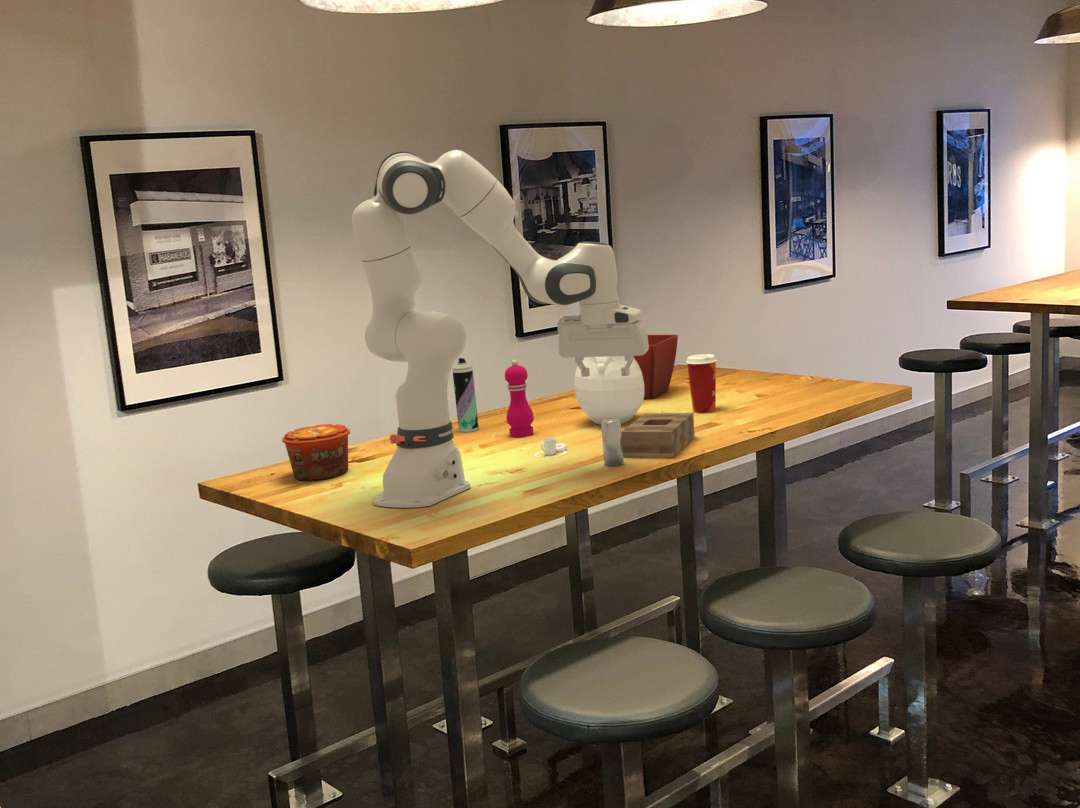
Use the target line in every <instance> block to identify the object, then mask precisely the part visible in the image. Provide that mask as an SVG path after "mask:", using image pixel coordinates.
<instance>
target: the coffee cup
mask: <svg viewBox="0 0 1080 808" xmlns="http://www.w3.org/2000/svg"><path fill="white" fill-rule="evenodd" d="M717 361H718V360H717V359H716V356H715V354H712V353H702V354H701V353H700V354H693V355H689V356H687V358H686V361H685V363H686V364H687V372H688V380H689V389H690V396H691V397H690V398H691V405H692V406H691V407H692V411H693V412H692V413H696V414H707V413H709V414H710V413H713V412H715V411H716V404H717V403H716V399H717V398H716V397H717V395H716V392H717V391H716V386H717V385H716V384H717V383H716V375H717V374H716V369H717V366H716V365H717V364H716V362H717Z"/></svg>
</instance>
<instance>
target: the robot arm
mask: <svg viewBox="0 0 1080 808" xmlns="http://www.w3.org/2000/svg"><path fill="white" fill-rule="evenodd" d="M373 195H374V196H373V197H372V198H369V199H366V200H365V201H363V202H361V203H360V204H359V205H357V206H356V207H355V208H354V210H353V211H352V213H351V225H352V231H353V237H354V242H355V246H356V250H357V253H358V256H359V259H360V261H361V262H360V263H361V265H362V267H363V270H364V273H365V276H366V280H367V282H368V283H367V284H368V287H369V289H370V292H371V301H372V313H371V318H370V320H369V321H368V322H367V325H366V327H365V331H364V332H365V334H364V338H365V339H364V340H365V344H366V347H367V348H368V350H369V352H370V353H371V354H373V355H374V356H376V357H378V358H380V359H383V360H385V361H386V360H387V361H388V362H390V361H391V362H397V363H398V362H400V363H401V362H402V363H403V362H404V363H407V374H406V377H405V380H404V382H403V383H401V385H399V387H398V388H397V389H396V392H395V402H396V410H397V419H398V420H397V421H398V427H397V432H396V434H394V433H391V434H390V435H389V442H390V444H392V445H394V444H396V449H395V452H394V453H393V455H392V457H391V459H390V461H389V463H388V464H387V467H386V468H385V470H384V472H383V476H382V486H383V487H382V488H383V489H382V490H383V491H382V492H381V493H380V494H379V495H377V496H375V497H374V499H373V500H372V501H373V505H374V506H378V507H385V508H399V509H400V508H401V509H403V508H406V509H407V508H410V509H411V508H422V507H429V506H432V505H435V504H437V503H440V502H441V501H443V500H446V499H448V498H451V497H452V496H455V495H457V494H459V493H461V492H463V491H467V490H468V489H470V488H471V487H472V486H471V482H470V481H468V480H466V478H465V477H466V476H465V472H464V466H463V462H462V457H461V452H460V450H459V448H458V447H457V446H456V444H455V443H454V440H453V439H454V427H453V422H452V421H451V419H450V411H449V399H448V385H449V384H448V383H449V379H450V373H451V369H452V368H453V365H454V363H455V361H456V360H457V359H458V358H459V356H461V354H462V353H463V351H464V349H465V347H466V343H467V342H466V341H467V334H466V329H465V326H464V324H463V323H462V321H461V319H460V318H458V317H457V316H455V315H452V314H450V313H445V312H441V311H438V310H418V309H417V307H416V303H415V292H416V291H417V290H418V289H419V288H420V287H421V283H422V280H423V275H422V272H421V269H420V265H419V263H418V259H417V257H416V256H417V255H416V254H415V250H414V247H413V244H412V241H411V238H410V235H409V233H408V228H407V216H409V215H416V214H419V213H421V212H423V211H426V210H427V209H429V208H432V206H434V205H436V204H438V203H441V202H442V203H444V204H445V205H447V207H449V209H451V211H453V212H454V214H456V216H457V217H458V218H460V220H462V221H463V222H464V223H465V224H466V225H467V226H468V227H469V228H470V229H472V230H473V231H474V232H475V233H476V234H478V235H479V236H480V237H482V239H484V240H485V241H486V242H488V243H489V244H490V245H491V246H492V247H493V248H494V250H496V252H497V253H498V254H499V255H500V256H501V257H502V258H503V260H504V261H505V262H506V263H507V264H508V265H509V266H510V267H511V268H512V270H513V271H514V272H515V274H516V275H517V276H518V279H519V281H520V283H521V286H522V290H524V293H525V294H526V296H527V297H528V298H529V299H530V300H531V301H533V302H534V303H537V304H543V305H548V304H549V305H555V306H562V307H563V306H569V305H573V304H575V303H579V314H580V315H572V316H570V315H566V316H562V317H561V318H560V319H559V320H558V321H557V324H556V326H557V333H558V353H559V355H560V356H561V357H562V358H563V359H564V358H569V359H570V358H574V362H575V364H576V365H578V367H579V368H580V369H581V376H582V377H588V376H590V372H589V371H590V370H589V368H586V367H585V365H584V363H583V362H582V361H583V360H584V357H607V356H625V361H627V363H626V365H625V367H622V368H621V372H622V373H621V375H622V376H629V375H630V368H629V367H630V366H631V363H632V361H633V359H634V357H633V356H642V355H644V354H645V353H646V352H647V351H648V349H649V344H648V337H647V335H648V332H647V328H646V325H645V324H644V322H643V321H641V320H640V319H641V318H642V315H643V314H642V310H641V309H639V308H635V307H631V306H627V305H623V304H621V303H620V297H619V293H618V290H617V286H618V269H617V262H616V256H615V252H614V250H613V248H612V246H611V245H610V244H609V243H606V242H599V241H584V240H583V241H580V242H578V243H577V244H576V246H574V248H573V249H572V250H570V251H569V252H568V253H566V254H565V255H564V256H562V257H560V258H557V260H556V259H555V260H554V259H550V258H547V257H545V256H542V255H541V254H539V252H537V251H536V250H535V249H534V248H533V247H532V245H531V244H530V243H529V242H528V241H527V240H526V239H525V238H524V236H523V235H522V234H521V233H520V232H519V231H518V230H517V228H516V226H515V222H514V219H515V216H516V202H515V201H514V199H513V198H512V196H511V195H510V193H509V191H508V190H507V189H506V188H505V187H504V185H503V184H502V183H501V182H500V181H499V179H497V178H496V177H495V176H494V174H492V173H491V172H490V171H489V170H488V169H487V168H486V167H484V166H483V164H481V163H480V162H479V161H477V160H476V159H475V158H474V157H472V156H471V155H469V154H468V153H466V152H465V151H463V150H460V149H453V150H449V151H447V152H445V153H443V154H442V155H440V156H439V157H438V159H437V160H434V161H433V162H426V161H424V160H423V159H421V158H420V156H418V155H416V154H415V153H412V152H409V151H398V152H397V151H396V152H394V153H391V154H389V155H388V156H387V157H386V158H384V159H383V161H382V162H381V164H380V166H379V168H378V170H377V174H376V180H375V184H374V189H373Z"/></svg>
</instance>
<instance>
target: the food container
mask: <svg viewBox="0 0 1080 808" xmlns="http://www.w3.org/2000/svg"><path fill="white" fill-rule="evenodd" d="M350 434H351V430H350V429H349V428H347V427H346V425H345V424H340V423H339V424H332V423H330V424H329V423H327V424H325V423H324V424H323V423H322V424H317V425H314V426H313V425H312V426H304V427H300V428H296V429H294V430H293V431H292V430H291V431H290V430H289V431H288V432H286V433H285V434H284V436H283V437H281V438H282V439H281V442H282V443H284V445H285V449H286V452H287V453H286V454H287V456H288V459H289V463H290V465H291V466H290V467H291V470H292V473H293V476H294V477H293V478H294V479H295V480H297V481H300V482H302V481H304V482H306V481H307V482H310V481H312V482H314V481H320V480H321V481H322V480H328V479H332V478H336V477H339V476H342V475H343V474H345V473H347V472H348V470H349V435H350Z"/></svg>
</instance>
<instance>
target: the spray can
mask: <svg viewBox="0 0 1080 808" xmlns="http://www.w3.org/2000/svg"><path fill="white" fill-rule="evenodd" d="M457 359H458V361H457V363H456V364H455V366H452V378H453V380H452V381H453V388H454V390H453V391H454V397H455V406H456V407H455V408H456V416H457V425H458V432H460V433H472V432H476V430H477V431H479V418H478V409H477V407H478V406H477V399H476V388H475V378H474V369H473V365H470V364H469V363H468V361H466V360H465V357H457Z"/></svg>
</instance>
